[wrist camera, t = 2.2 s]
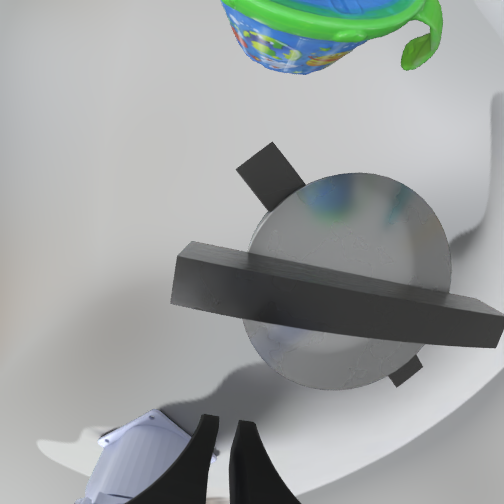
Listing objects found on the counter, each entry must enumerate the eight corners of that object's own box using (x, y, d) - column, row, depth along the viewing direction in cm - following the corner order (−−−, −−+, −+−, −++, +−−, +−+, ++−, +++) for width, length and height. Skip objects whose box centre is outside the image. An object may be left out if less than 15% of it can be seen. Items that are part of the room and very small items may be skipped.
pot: (444, 306, 22) (471, 324, 18) (329, 395, 23) (341, 426, 19) (324, 109, 19) (341, 93, 15) (179, 219, 20) (164, 227, 16)
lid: (489, 219, 16) (532, 228, 12) (431, 386, 18) (458, 419, 14) (215, 136, 15) (204, 118, 11) (176, 359, 17) (160, 402, 13)
